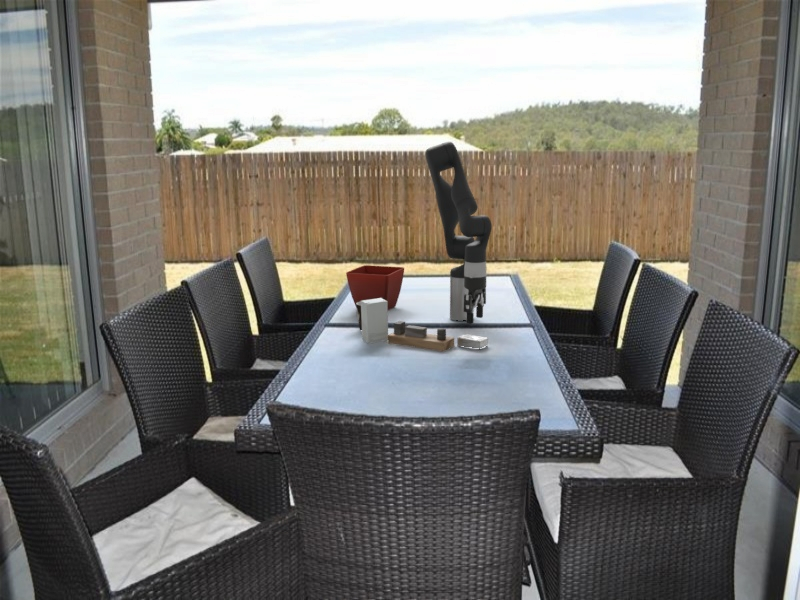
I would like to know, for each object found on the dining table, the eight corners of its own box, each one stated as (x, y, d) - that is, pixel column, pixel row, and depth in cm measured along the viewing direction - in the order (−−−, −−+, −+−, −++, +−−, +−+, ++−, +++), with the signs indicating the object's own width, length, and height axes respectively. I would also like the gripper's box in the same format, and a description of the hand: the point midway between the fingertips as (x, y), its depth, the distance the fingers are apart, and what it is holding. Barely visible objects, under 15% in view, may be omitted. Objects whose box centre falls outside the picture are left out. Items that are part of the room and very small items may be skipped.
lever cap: (464, 343, 264) (465, 334, 263) (487, 347, 259) (487, 337, 258) (457, 347, 260) (457, 337, 259) (480, 351, 255) (480, 341, 254)
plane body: (399, 337, 271) (398, 319, 269) (454, 345, 260) (454, 326, 259) (388, 343, 264) (387, 324, 262) (444, 351, 253) (444, 331, 252)
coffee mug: (376, 332, 278) (376, 306, 276) (354, 331, 280) (353, 305, 278) (383, 324, 289) (383, 299, 287) (361, 323, 291) (361, 298, 289)
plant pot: (345, 311, 311) (345, 272, 307) (365, 302, 328) (364, 264, 324) (388, 315, 304) (387, 275, 300) (405, 305, 321) (405, 267, 317)
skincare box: (382, 337, 272) (381, 297, 269) (389, 341, 267) (388, 300, 263) (360, 339, 268) (360, 299, 265) (367, 344, 263) (366, 302, 260)
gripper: (473, 269, 261) (472, 314, 265) (456, 277, 249) (456, 324, 253) (493, 271, 258) (492, 316, 262) (477, 279, 246) (477, 326, 249)
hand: (474, 320), depth 257 cm, fingers open, 8 cm apart
